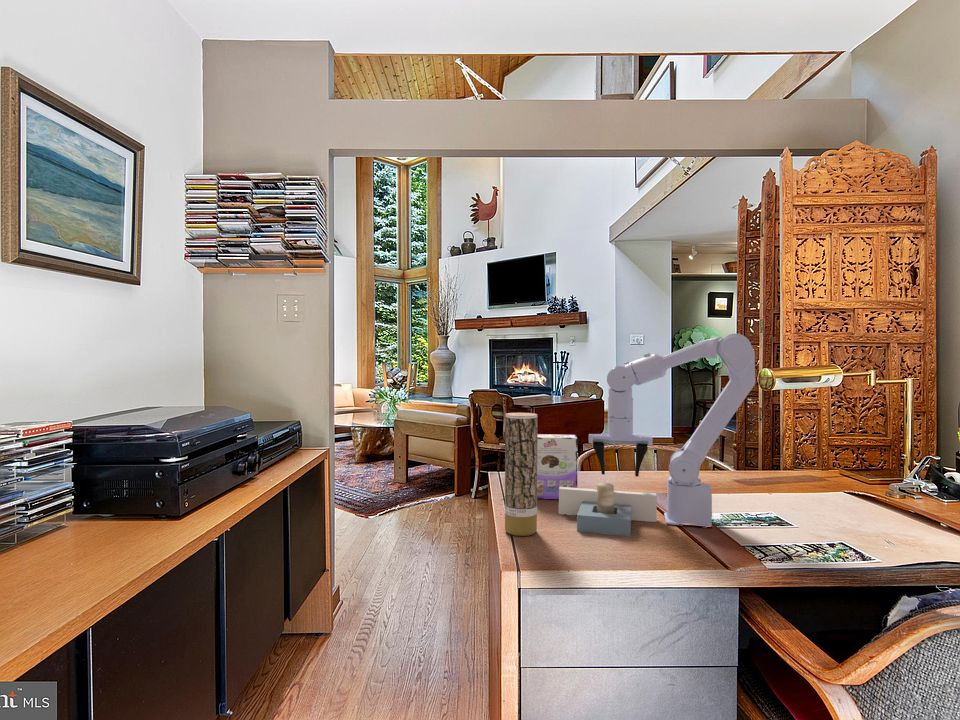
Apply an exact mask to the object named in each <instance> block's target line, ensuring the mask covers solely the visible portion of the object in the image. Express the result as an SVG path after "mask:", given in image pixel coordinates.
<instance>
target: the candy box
mask: <svg viewBox="0 0 960 720" xmlns="http://www.w3.org/2000/svg"><path fill="white" fill-rule="evenodd" d="M560 487H571V488H578V437H577V435H576V434H555V433H554V434H546V433H545V434H543V433H542V434H541V433H538V434H537V500H546V499H559V488H560Z"/></svg>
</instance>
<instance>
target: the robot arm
mask: <svg viewBox="0 0 960 720" xmlns="http://www.w3.org/2000/svg"><path fill="white" fill-rule="evenodd" d="M718 357H719V358H720V360H721V361H722V362H723V364H724V365H725V368H726V370H727V371H726V372H727V375H728V378H729V381H728V382H727V383H726V385H725V386H724V388H723V389H722V390H721V392H720V394H719V395H718V397H717V398H716V399H715V401H714V403H713V404H712V405H711V407H710V409H709V410H708V411H707V413H706V414H705V416H704V417H703V419H702V420H701V422H700V423H699V425H698V426H697V427H696V429H695V430H694V432H693V433H692V435H691V436H690V438H689V439H688V440H687V441H686V442H685V444H684V445H683V446H682V447H681V448H680V449H678V450H676V451H674V452H673V453H672V455H671V456H670V460H669V465H668V473H669V477H667V478H666V480H667V481H666V483H667V484H666V486H667V487H666V512H664V513H663V515H664V519H665V520H664V521H665V524H666V525H674V526H675V525H676V526H680V525H679V524H681V523H690V524H691V523H693V524H697V525H704V526H712V527H713V524H712V521H713V520H712V519H713V492H712V486H711V484H709V483H703V482H702V480H701V479H700V478H699V476H700V469H701V466H702V464H703V462H704V461H705V459H706V457H707V455H708V453H709V451H710V450H711V448H712V447H713V446H714V444H715V442H716V441H717V439H718V438H719V436H720V435H721V434H722V432H723V431H724V429H725V428H726V426H727V425H728V424H729V422H730V421H731V419H732V418H733V416H734V415H735V413H736V412H737V411H738V410H739V408H740V406H741V405H742V403H743V402H744V401H745V399H746V398H747V396H748V395H749V394H750V392H751V391H752V389H753V388H754V386H755V384H756V362H755V361H756V360H755V359H756V352H755V350H754V347H753V345H752V343H751V342H750V340H749V338H748V337H746V336H745V335H743V334H741V333H730V334H728V335H725V336H724V337H722V336H719V337H713V338H709V339H704V340H701V341H698V342H696V343H693V344H691V345H688V346H686V347H683V348H681V349H678V350H675V351H673V352H671V353H668V354H666V355H663V356H662V355H660V354H658V353H650V352H647V353H644V354H643V357H640V358H638V359H634V360H632V361H629V360H627V361H624V363H623V364H624V366H623V365H617V366H615V367H613V368H611V369H610V370H609V372H608V373H607V376H606V382H607V385H608V397H607V433H589V434H588V443H589V444H592V446H593V449H594V451H595V455H596V456H597V460H598V461H599V466H600V471H601V475H602V476H603V475H606V467H605V466H606V465H605V444H611V445H612V444H613V445H614V444H615V445H616V444H617V445H635V468H634V472H635V473H634V475H635V476H634V477H638V478H639V474H640V469H641V466H642V462H643V460H644V457H645V455H646V453H647V451H648V447H649V446H651V447H653V445H654V443H653V440H654V439H653V436H647V435H639V434H638V435H637V434H634V431H633V430H634V415H633V414H634V397H633V386H634V385H635V386H640V385H643V384H646V383H649V382H652V381H656V380H658V379H660V378H664V377H665V375H666V374H667V371H668V369H671V368H674V367H677V366H680V365H683V364H686V363H689V362H692V361H695V360H698V359H702V358H706V359H718Z"/></svg>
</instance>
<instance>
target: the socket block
mask: <svg viewBox="0 0 960 720" xmlns="http://www.w3.org/2000/svg"><path fill="white" fill-rule="evenodd" d="M631 528H632V520H631V505H621V504H614V514H606V513H597V503H596V502H584V501H582V503H581V506H580V509H579V511H578V514H577V516H576V531H577V532H580V531H583V532H582V533H591V532H593V533H594V534H601V533H602V534H603V535H611V536H612V535H614V536H621V535H622V536H624V537H631V531H632V529H631Z"/></svg>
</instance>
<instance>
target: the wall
mask: <svg viewBox="0 0 960 720" xmlns="http://www.w3.org/2000/svg"><path fill="white" fill-rule="evenodd" d="M657 498H658V496H657V493H656V492H655V493H652V492H641V491H640V492H639V491H637V492H636V491H628V490H627V491H625V490H624V491H623V490H614V504H621V505H631V521H639V522H648V523H649V522H650V523H657V516H658V515H657V509H658V507H657V506H658V505H657V502H658V500H657ZM582 501H584V502H596V503H597V488H596V489H595V488H584V487H583V488H582V487H577V488H571V487H560V488H559V500H558V515H564V514H567V516H576V515H577V514H578V511H579V509H580V506H581V503H582Z"/></svg>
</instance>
